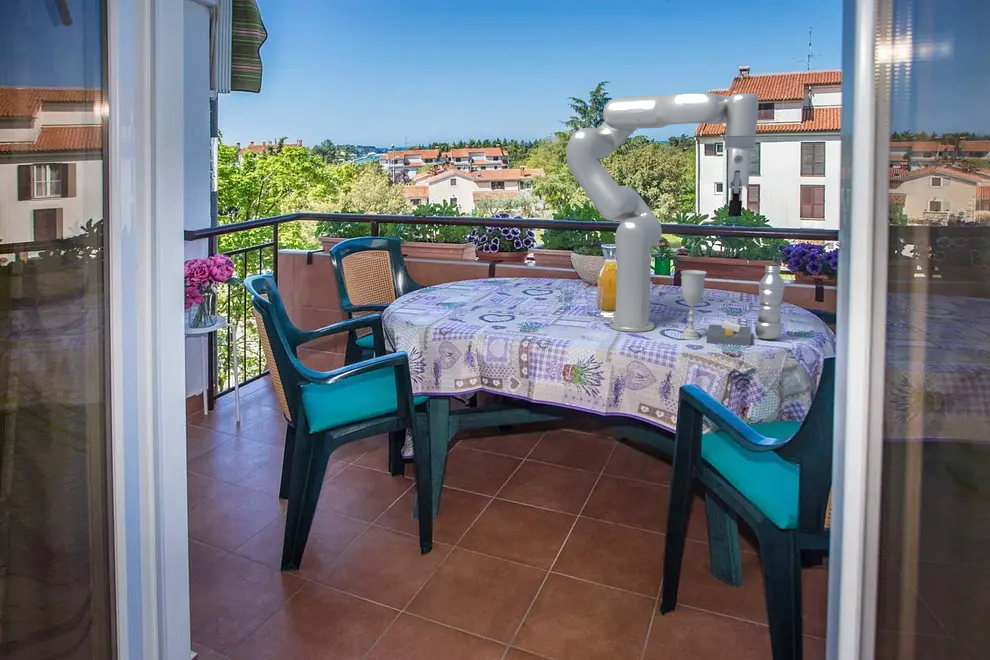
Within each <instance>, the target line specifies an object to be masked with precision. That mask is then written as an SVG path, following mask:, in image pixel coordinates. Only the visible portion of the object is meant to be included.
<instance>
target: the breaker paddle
mask: <svg viewBox="0 0 990 660" xmlns="http://www.w3.org/2000/svg"><path fill="white" fill-rule="evenodd" d="M731 322H732V321H727V320H725V319H724V320H723V321H722V324H721V325H722V328H726V329H733V331H735V332H738V331H739V329H740V324H737V323H735V322H734V323H731Z"/></svg>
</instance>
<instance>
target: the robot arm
mask: <svg viewBox="0 0 990 660" xmlns="http://www.w3.org/2000/svg"><path fill="white" fill-rule="evenodd" d="M759 100H760V99H759V96H758V95H757V94H755V93H747V92H745V93H733V94H731V95H724V94H723V95H722V94H717V93H715V92H705V91H704V92H690V93H688V92H687V93H686V92H685V93H676V94H675V93H673V94H655V95H638V96H622V97H621V96H620V97H614V98H612V99H610V100H608V102H606V104H605V105H604V107H603V109H602V110H603V111H602V118H603V122H602V123H601V125H599V126H598V128H596V127H585V128H584V127H582V128H580V129H578V130H576V131H575V132H574V133H572V135H571V136H570V138H569V140H568V141H567V145H566V148H565V149H566V150H565V160H566V164H567V166H568V167H567V168H568V169H569V171H570V173H571V174H572V176H573V177H574V179H575V181H576V182H577V183H578V184H579V186H580V187H581V188H582V189H583V191H584V193H585V194H586V196H587V197H588V198H589V200H590V201H591V202H592V204H593V206H595V208H596V210H597V211H598V212H599V214H600V215H601V216H602V217H603V219H605V220H607V221H619V223H620V224H619V225H618V227H617V229H616V232H615V235H614V236H615V238H614V241H615V242H614V243H615V250H616V289H615V290H616V292H615V295H616V296H615V310H614V311H611V312H607V311H606V312H605V311H601V312H600V319H601V320H610V321H611V322H610V323H609V327H610V328H611V329H613V330H614V331H620V332H630V333H633V332H634V333H636V332H638V333H640V332H648V331H652V330H654V329H655V323H654V322H652V321H650V302H651V301H650V300H651V299H650V298H651V274H652V273H651V272H652V265H651V264H652V263H651V262H652V261H651V254H650V253H651V252H650V248H652V247H654V246H656V245H657V244H658V243H659V242H660V240H661V238H662V234H663V232H662V231H663V229H662V225H661V223H660V221H659V220H658V218H657V217H656V215H655V214H654V213H653V211H652V210H651V209H650V207H649V206H648V205H647V203H646V202H645V200H644V199H643V198H642V196H641V195H640V194H639V192H637V191H636V190H635V189H633V188H632V187H629V186H626V185H619V184H618V183H617V182H616V181H615V180H614V179H613V177H612V176H611V174H610V172H609V171H608V170H607V169H606V167H604V166H603V165H602V163H601V162H600V161H599V160H598V159H605V158H607V157H609V156H611V154H613V153H614V152H615V151H616V150H617V149H618V148H619V147H620V146H621V145H622V144H623V143H625V141H626V140H627V139H628V138H629V137H630V136H631V135H632V134H633V133H634V132H635V131H636V130H638V129H660V128H664V127H667V126H671V125H683V124H684V125H685V124H706V125H707V124H708V125H721V124H725V133H724V134H725V135H724V136H725V137H724V150H725V151H726V150H728V164H727V168H728V169H727V183H728V188H729V189H730V200H728V201H729V202H728V216H729V217H741V216H742V210H743V200H742V196H743V187H744V188H745V190H747V189H748V188H749V182H750V170H751V169H750V168H751V150H753V151H755V150H756V143H757V127H758V115H759V102H760V101H759Z"/></svg>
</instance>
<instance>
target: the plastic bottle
mask: <svg viewBox="0 0 990 660" xmlns="http://www.w3.org/2000/svg"><path fill="white" fill-rule="evenodd" d="M781 271H782V270H781V265H780V264H772V263H771V264H766V265H765V270H764V272H765V274H764V275H763V277H762V278H761V279H760V281H759V283H758V294H759V306H758V307H759V308H758V314H757V321H756V323H755V329H754V332H755V335H756V337H757V338H759V339H763V340H767V339H770V340H776V339H779V338H780V336H781V333H782V323H781V319H782V318H781V309H782V303H783V302H782V301H783V296H784V292H785V289H786V288H785V287H786V284H785V281H784V279H783V277H782V276H781V274H780V273H781Z"/></svg>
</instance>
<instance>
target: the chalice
mask: <svg viewBox="0 0 990 660" xmlns="http://www.w3.org/2000/svg"><path fill="white" fill-rule="evenodd" d="M707 274H708V272H707V271H704V270H697V269H695V270H694V269H685V270H684V269H683V270H681V271H680V275H681V293H682V296H683V299H684V302H685V303H686V305H687V306H689V312H688V315H689V318H688V319H687V321H688V323H689V324H688V326H687V328H684V330H683V332H682V335H681V337H680V338H681V339H683V338H684V340H689V339H690V341H693V340H694V341H695V340H699V338H700V339H701V337H700V335H699V333H698V330H697V329H696V328H694V325H693V323H694V322H695V319H694V316H695V312H694V308H695V307H696V306H698V304H699V303H700V301H701V299H702V297H703V294H704V292H705V279H706V278H705V277H706V275H707Z"/></svg>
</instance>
